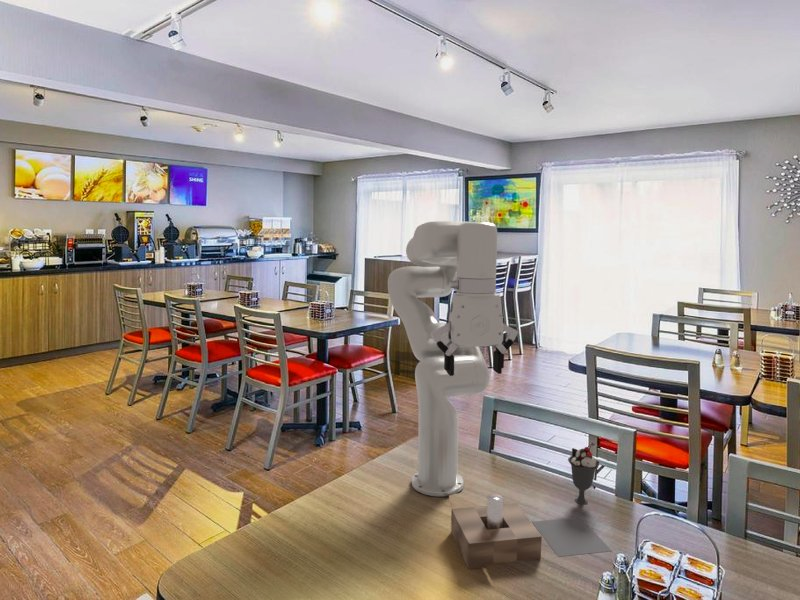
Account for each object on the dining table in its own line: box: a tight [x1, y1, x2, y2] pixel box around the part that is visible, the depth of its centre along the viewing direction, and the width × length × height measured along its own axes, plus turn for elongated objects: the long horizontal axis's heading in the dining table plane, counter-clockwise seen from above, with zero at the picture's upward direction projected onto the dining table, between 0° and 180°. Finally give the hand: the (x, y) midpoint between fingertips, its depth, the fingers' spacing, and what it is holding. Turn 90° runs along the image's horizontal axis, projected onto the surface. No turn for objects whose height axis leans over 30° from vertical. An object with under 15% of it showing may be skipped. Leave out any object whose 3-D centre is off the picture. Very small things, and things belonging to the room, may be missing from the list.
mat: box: [531, 516, 613, 558], centre depth 105 cm, size 12×11×1 cm
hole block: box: [450, 503, 543, 570], centre depth 102 cm, size 12×14×5 cm
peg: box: [486, 493, 504, 530], centre depth 102 cm, size 3×3×10 cm
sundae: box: [567, 442, 600, 506], centre depth 117 cm, size 7×7×15 cm
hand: (473, 373), depth 103 cm, fingers open, 9 cm apart
